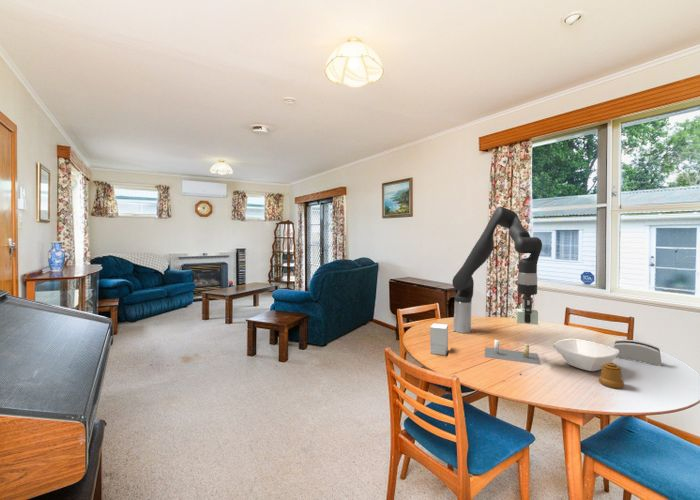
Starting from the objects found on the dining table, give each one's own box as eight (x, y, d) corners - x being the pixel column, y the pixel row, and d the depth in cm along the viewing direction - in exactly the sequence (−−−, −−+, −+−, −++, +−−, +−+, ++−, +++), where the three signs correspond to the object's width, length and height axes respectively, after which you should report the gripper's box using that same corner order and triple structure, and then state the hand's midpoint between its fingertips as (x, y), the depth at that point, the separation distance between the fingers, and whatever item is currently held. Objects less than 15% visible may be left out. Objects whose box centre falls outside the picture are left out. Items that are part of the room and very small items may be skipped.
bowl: (598, 381, 128) (599, 359, 127) (545, 363, 146) (546, 343, 146) (626, 371, 137) (627, 350, 137) (573, 354, 156) (573, 336, 155)
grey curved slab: (661, 362, 146) (662, 343, 143) (661, 369, 143) (662, 349, 140) (612, 353, 157) (612, 335, 154) (611, 359, 154) (611, 341, 151)
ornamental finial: (596, 384, 125) (601, 378, 130) (621, 391, 120) (625, 385, 125) (596, 363, 125) (602, 358, 130) (622, 369, 119) (626, 364, 124)
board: (484, 360, 149) (484, 343, 149) (485, 350, 162) (485, 334, 161) (541, 368, 140) (541, 350, 140) (537, 356, 153) (537, 340, 153)
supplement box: (448, 350, 162) (448, 324, 161) (445, 355, 155) (446, 328, 154) (432, 348, 165) (433, 322, 164) (429, 353, 158) (430, 326, 157)
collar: (517, 322, 147) (517, 311, 146) (516, 319, 152) (516, 308, 152) (537, 324, 143) (538, 313, 143) (536, 321, 149) (536, 310, 149)
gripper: (517, 280, 155) (516, 316, 156) (518, 284, 142) (518, 324, 143) (535, 281, 152) (534, 318, 153) (539, 285, 139) (538, 326, 140)
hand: (526, 320), depth 148 cm, fingers closed on collar, 6 cm apart
